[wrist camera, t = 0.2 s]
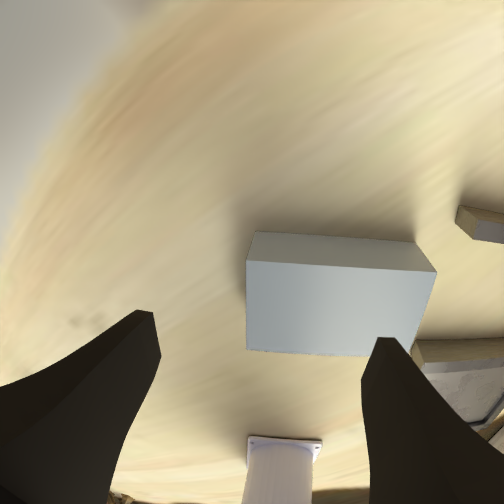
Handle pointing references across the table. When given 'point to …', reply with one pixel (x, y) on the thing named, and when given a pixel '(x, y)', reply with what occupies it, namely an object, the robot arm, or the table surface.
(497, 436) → the skincare box
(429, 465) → the robot arm
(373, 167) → the table surface
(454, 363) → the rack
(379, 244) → the light grey rectangular block
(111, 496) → the eiffel tower
